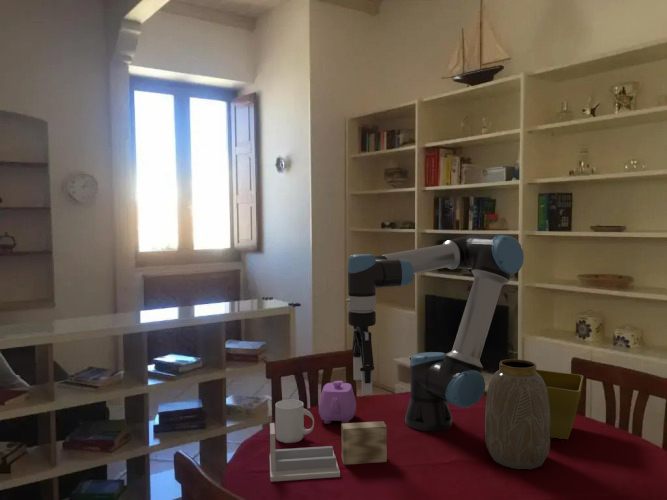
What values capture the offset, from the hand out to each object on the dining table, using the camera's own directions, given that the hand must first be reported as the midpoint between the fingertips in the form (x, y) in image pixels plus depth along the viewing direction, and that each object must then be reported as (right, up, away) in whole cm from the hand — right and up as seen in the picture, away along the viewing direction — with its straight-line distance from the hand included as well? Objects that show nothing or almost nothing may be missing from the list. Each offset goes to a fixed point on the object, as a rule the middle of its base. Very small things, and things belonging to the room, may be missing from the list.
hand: (362, 386), depth 152 cm
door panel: (0, -21, +1) cm, 21 cm away
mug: (-20, -20, +17) cm, 33 cm away
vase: (+43, -21, +1) cm, 47 cm away
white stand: (-16, -21, -3) cm, 27 cm away
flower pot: (+59, -19, +21) cm, 66 cm away
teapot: (-7, -19, +32) cm, 38 cm away
